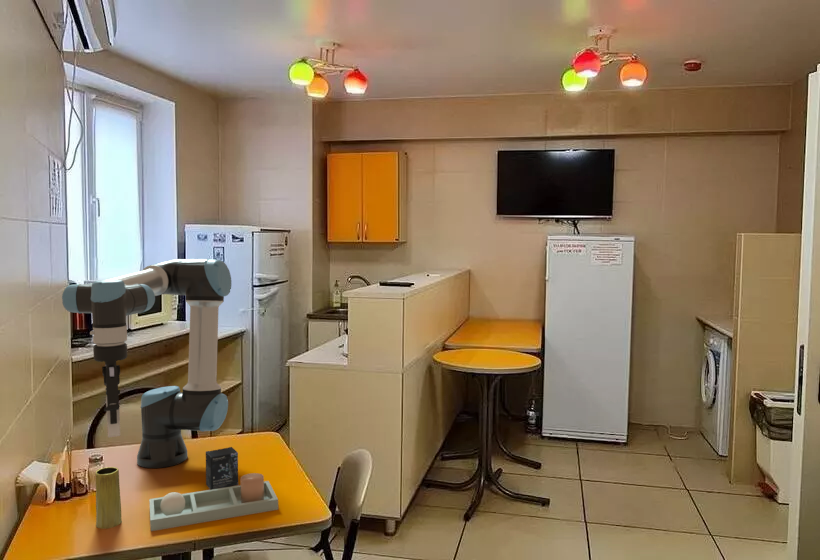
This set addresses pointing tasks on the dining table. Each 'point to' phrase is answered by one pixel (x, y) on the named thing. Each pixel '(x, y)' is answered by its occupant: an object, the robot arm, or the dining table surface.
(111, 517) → the vase
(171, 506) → the ball
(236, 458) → the box
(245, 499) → the pink pillar candle
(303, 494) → the dining table surface
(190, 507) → the tray
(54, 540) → the dining table surface
